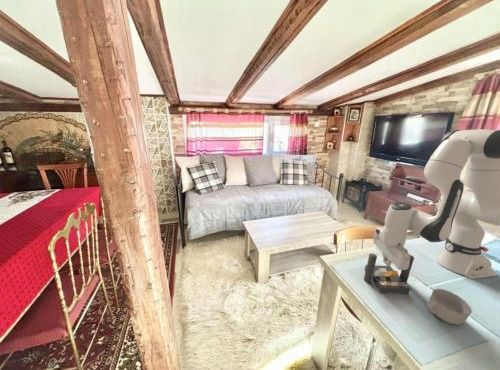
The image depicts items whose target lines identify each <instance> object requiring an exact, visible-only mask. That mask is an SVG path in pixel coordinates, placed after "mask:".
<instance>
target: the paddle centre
mask: <svg viewBox="0 0 500 370" xmlns="http://www.w3.org/2000/svg"><path fill="white" fill-rule="evenodd" d="M396 275H399V272H398V271H397V270H394V271H389V272H387V273H385V274H384V276H385V277H393V276H396Z"/></svg>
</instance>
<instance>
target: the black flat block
mask: <svg viewBox="0 0 500 370" xmlns="http://www.w3.org/2000/svg"><path fill="white" fill-rule="evenodd" d="M366 267H367V264H365V267H364V272H366ZM379 268H386V271H387V272H389V271H395V270H394V269H393V267H392V266H391V265H390V266H387V265H376V264H375V268H374V272H376V271H377V270H378V269H379ZM374 272H373V276H372V280H371V282H372V283H373V284H374V285H375V287H376V289H377V290H378V292H379V293H381V294H404V295H409V294H410V291H411V287H410V286H409V285H408V284H407V283H405V282H404V281H403V280H402V278H401V277H400V274H398V275H396V276H393V277H385V276H384V275H382V276H381V277H377V276H374ZM387 272H386V273H387Z"/></svg>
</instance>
